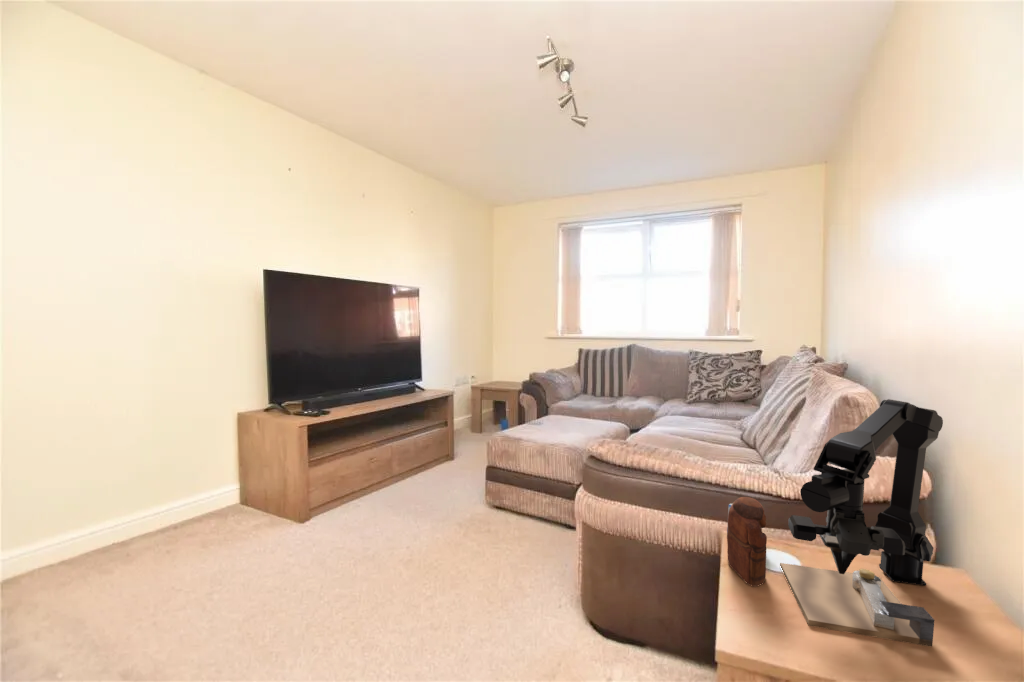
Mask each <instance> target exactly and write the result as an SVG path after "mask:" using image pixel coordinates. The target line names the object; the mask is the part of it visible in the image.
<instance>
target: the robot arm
mask: <svg viewBox="0 0 1024 682" xmlns="http://www.w3.org/2000/svg"><path fill="white" fill-rule="evenodd" d="M943 423H944V420H943V417H942V416H940V415H939V414H938V412H937V410H936V409H935V410H934V409H929V408H925V407H920V406H916V405H914V404H911V403H910V402H908V401H902V400H896V399H890V398H888V399H883V400H882V401H880V404H879V407H878V408H877V409H876V410H875V411H874V412H873V413H871V414H870V415H869V416H868V417H867V418H866V419H865V420H863V421H862V422H861V423H860V424H859V425H858V426H856V428H854V429H853V430H851V431H845V432H840V433H838V434H836V435H835V436H833V437H831V438H830V439H828V441H827V442H825V444H824V446H823V448H822V450H821V452H820V454H819V456H818V458H817V461H816V463H815V465H814V467H813V470H814V471H816V472H819V473H820V474H812V476H811V481H807V482H805V483H804V484H803V485H802V487H801V488H800V490H799V491H800V497H801V499H802V502H803V504H805V506H806V507H807V508H808V509H810V510H812V511H813V512H817V513H824V512H827V516H825V523H826V525H823V524H816V523H814V522H813V520H812V518H811V516H810V517H809V516H802V515H795V514H792V515H790V516H789V517H788V529H789V530H790V533H791V534H792V538H794V539H796V540H798V541H799V540H801V541H807V542H813V541H815V540H816V539H817V535H819V537H820V539H821V541H822V543H823V544H824V546H825V547H827V548H829V549H830V552H831V555H832V557H833V560H834V563H835V566H836V568H837V570H836V571H838V572H839V574H845V572H847V570H848V568H849V567H850V565H851V563H852V562H853V560H854V559H856V557H857V556H858V555H861V556H864V557H866V556H869V555H870V554H871V551H872V550H873V551H880V550H883V551H881V553H880V563H879V564H878V566H879V568H880V570H882V571H883V572H884V574H886V576H887V577H888V578H889V579H890V580H891V581H892V582H897V583H903V584H911V585H917V586H918V585H919V586H923V587H924V586H925V587H926V586H927V583H926V581H925V580H924V579H923V573H924V562H931V561H932V556H933V554H934V548H935V547H933V545H932V543H931V542H930V540H929V539H928V537H927V535H926V529H927V528H926V523H925V522H924V519H922V517H921V515H920V512H919V504H920V498H921V497H920V496H921V488H922V481H923V474H924V467H925V460H926V452H927V448H928V447H930V445H931V444H933V443H934V442H935V441H936V440H937V439H938V438H939V433H940V431H941V430H942V428H943V425H944V424H943ZM891 436H893V438H894V439H895V442H896V443H897V449H896V454H895V455H896V457H895V465H894V472H893V479H892V487H891V488H892V489H891V496H890V502H889V506H888V507H887V508H885V509H884V510H883V511H882V512H879V513H878V514H877V521H876V523H875V526H874V525H871V527H870V526H867V524H866V522H865V520H866V518H865V513H864V509H863V507H864V497H865V496H864V494H865V493H864V492H865V480H866V479H869V478H870V474H869V472H870V470H871V469H872V467H874V465H875V462H876V461H877V456H876V451H877V449H878V448H879V447H880V446H881V445H882V444H883V443H884V442H886V440H888V439H889V438H890V437H891ZM828 463H829V464H830V465H829V464H828ZM838 467H839V468H838Z"/></svg>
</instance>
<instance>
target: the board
mask: <svg viewBox="0 0 1024 682" xmlns="http://www.w3.org/2000/svg"><path fill="white" fill-rule="evenodd" d="M780 566H781V568H782V570H783V572H784V575H785V577H786V579H787V581H788V583H789V585H790V587H791V589H790V590H792V591H791V593H792V592H793V593H792V595H793V594H794V595H793V597H794V599H795V601H796V604H797V605H798V608H799V609H800V612H801V614H802V616H803V617H804V619H805V622H806V624H807V626H810V627H816V628H821V629H826V630H833V631H839V632H844V633H848V634H849V633H850V634H856V635H862V636H866V637H872V638H878V639H886V640H891V641H896V642H904V643H909V644H914V645H918V646H919V645H921V642H920V643H919V640H921V639H920V638H919V637H918V636H917V635H916V633H915V632H914V631H913V630H912V628H911V627H910V626H909V622H910V620H906V619H900V618H894V630H891V629H887V628H883V627H879V626H875V625H874V624H873V622H872V620H871V617H870V615H869V613H868V610H867V608H866V606H865V603H864V601H863V599H862V596H861V594H860V592H859V591H858V590H856V589H855V588H854V587H853V586H852V578H853V572H847V571H846V572H845V574H839V572H838V570H833V569H828V568H827V569H826V568H819V567H811V566H805V565H798V564H790V563H784V562H780V563H779V567H780ZM859 574H860V576H862V577H864V578H866V579H874V577H875V575H876V574H875V573H874V572H873V571H872V570H870V569H867V568H860V569H859ZM784 575H783V576H784ZM785 577H784V578H785ZM877 577H878V578H879V579H880V580H881V588H880V589H881V591H882V593H883V595H884V597H885V599H886V601H887V602H891V603H898V604H903V602H901V601H900V599H899V598H898V597H897V596H896V595H895V594H894V593H895V592H893V591H892V590H891V589H890V587H889V586H888V585H887V584H886V583H885V581H884V580H883V579H882V577H880V576H877ZM786 579H785V580H786ZM787 581H786V582H787ZM788 583H787V584H788ZM789 585H788V586H789ZM790 587H789V588H790ZM921 641H922V642H924V641H926V640H923V639H922V640H921ZM927 641H930V640H927ZM933 642H934V641H933ZM933 642H930V643H933ZM925 643H927V642H925ZM923 644H924V643H923ZM923 644H922V645H921V646H924V647H925V645H926V644H924V645H923ZM933 644H934V643H933ZM927 645H930V646H929V647H931V644H928V643H927ZM931 648H932V647H931Z"/></svg>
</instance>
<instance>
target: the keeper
mask: <svg viewBox="0 0 1024 682" xmlns="http://www.w3.org/2000/svg"><path fill="white" fill-rule="evenodd" d="M880 606H881V607H882V608H883V610H884V611H885V612H886V614H887V615H888V616H889V617H894V618H900V619H906V620H910V622H909V626H910V627H911V628H912V630H913V631H914V632H915V633H916V635H917V636H918V637H919V638H920V639H921V640H922V639H923V640H926V641H924V642H922V641H921V640H919V643H920V642H921V646H924V644H926V645H925V646H926V647H930V645H927V643H928V644H931V648H932V647H933V644H934V643H930V642H934V631H935V630H934V629H935V618H933V616H932V615H931V614H930V613H929V612H928V611H927V610H926V609H925V608H924V607H923V606H915V605H909V604H903V603H902V604H898V603H891V602H885V601H880ZM927 640H930V641H927ZM925 642H927V643H925ZM923 643H924V644H923ZM922 644H923V645H922ZM925 646H924V647H925Z"/></svg>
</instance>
